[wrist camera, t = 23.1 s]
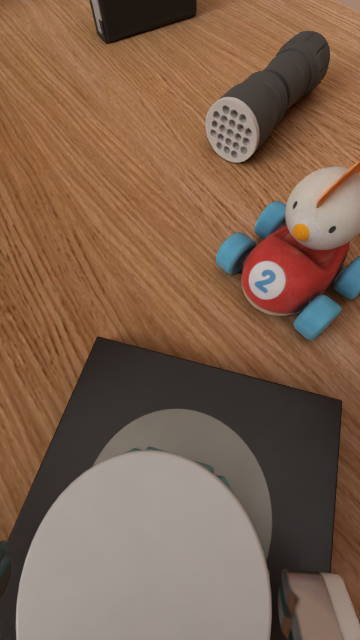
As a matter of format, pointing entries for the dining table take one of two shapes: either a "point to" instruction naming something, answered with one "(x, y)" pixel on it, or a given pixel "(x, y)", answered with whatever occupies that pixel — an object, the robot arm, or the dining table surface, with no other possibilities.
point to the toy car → (302, 250)
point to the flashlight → (266, 97)
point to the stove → (198, 451)
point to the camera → (137, 16)
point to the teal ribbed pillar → (145, 557)
